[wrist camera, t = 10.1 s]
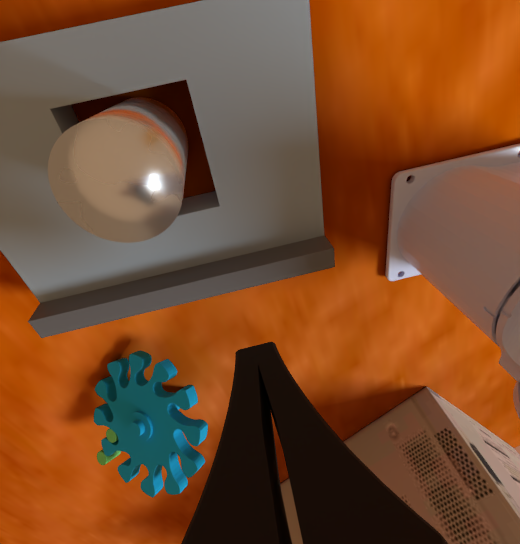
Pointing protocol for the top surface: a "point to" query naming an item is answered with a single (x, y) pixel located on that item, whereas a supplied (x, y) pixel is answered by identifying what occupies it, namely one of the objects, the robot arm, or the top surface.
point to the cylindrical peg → (122, 170)
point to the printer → (439, 471)
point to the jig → (217, 142)
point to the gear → (149, 424)
